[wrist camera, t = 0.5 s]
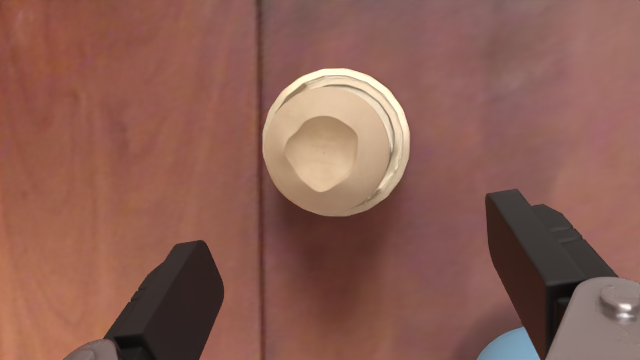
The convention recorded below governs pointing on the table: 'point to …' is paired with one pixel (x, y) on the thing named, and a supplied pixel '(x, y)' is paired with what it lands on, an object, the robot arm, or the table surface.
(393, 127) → the bowl
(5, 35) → the table surface
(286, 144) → the candle
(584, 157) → the table surface
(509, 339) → the decorative pot
